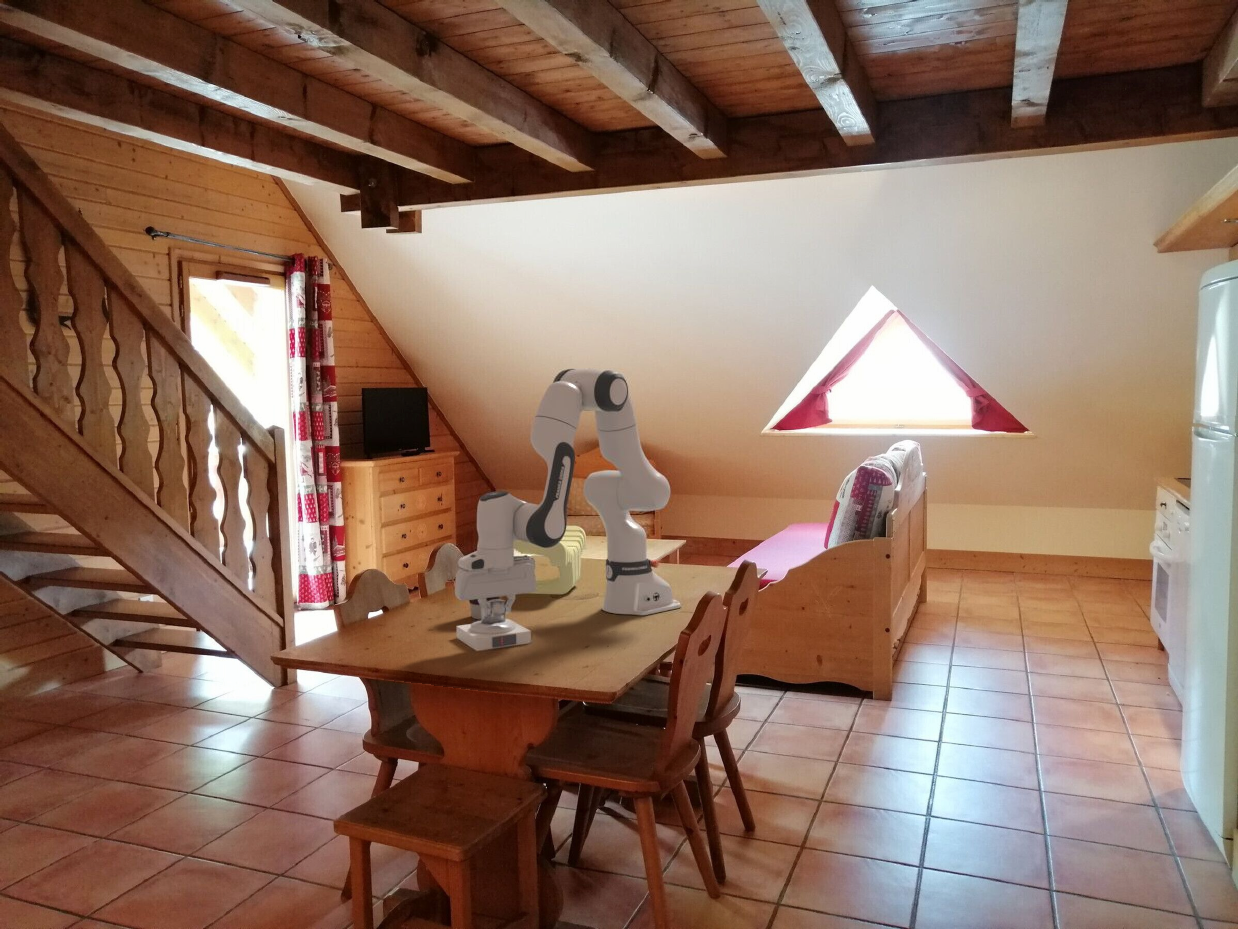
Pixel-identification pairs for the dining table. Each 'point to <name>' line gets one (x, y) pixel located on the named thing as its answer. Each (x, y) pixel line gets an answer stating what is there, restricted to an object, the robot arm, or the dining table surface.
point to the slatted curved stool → (559, 560)
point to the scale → (493, 635)
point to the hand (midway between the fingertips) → (496, 614)
